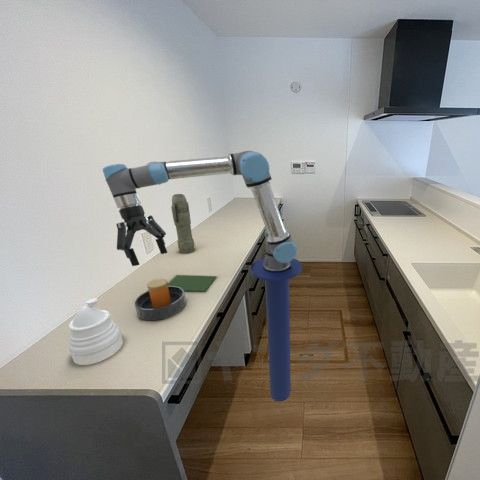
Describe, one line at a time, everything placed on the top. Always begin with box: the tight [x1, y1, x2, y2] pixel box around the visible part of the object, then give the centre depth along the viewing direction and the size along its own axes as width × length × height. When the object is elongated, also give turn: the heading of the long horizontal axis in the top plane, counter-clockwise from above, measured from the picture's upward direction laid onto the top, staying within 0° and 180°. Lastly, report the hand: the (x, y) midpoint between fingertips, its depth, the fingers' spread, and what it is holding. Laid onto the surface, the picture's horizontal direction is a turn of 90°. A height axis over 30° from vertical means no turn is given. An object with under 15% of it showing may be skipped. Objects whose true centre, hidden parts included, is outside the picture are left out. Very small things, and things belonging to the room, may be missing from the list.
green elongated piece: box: [170, 193, 196, 255], centre depth 157 cm, size 9×12×35 cm
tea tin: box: [146, 278, 171, 309], centre depth 105 cm, size 7×7×11 cm
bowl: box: [134, 286, 187, 321], centre depth 107 cm, size 17×17×6 cm
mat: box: [168, 274, 217, 293], centre depth 126 cm, size 20×14×1 cm
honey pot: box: [67, 297, 124, 366], centre depth 83 cm, size 13×13×18 cm
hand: (151, 259), depth 104 cm, fingers open, 13 cm apart
